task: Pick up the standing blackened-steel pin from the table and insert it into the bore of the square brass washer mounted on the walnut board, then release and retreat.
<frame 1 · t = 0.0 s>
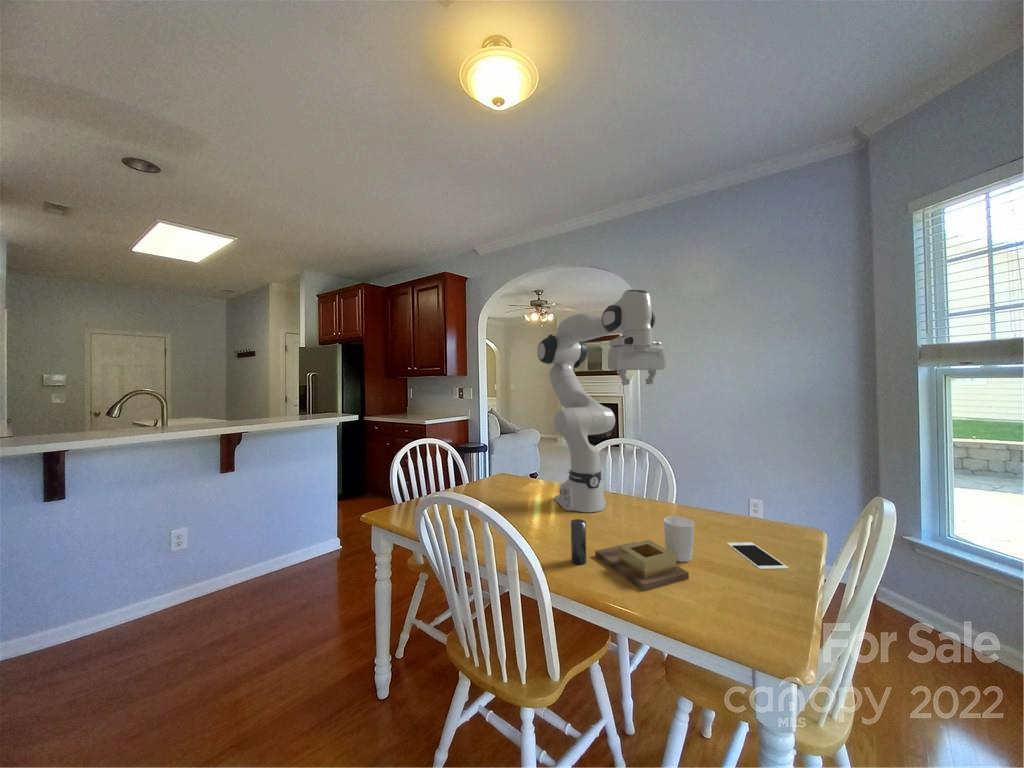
hand: (637, 384, 124), 48 cm above the table, fingers open, 8 cm apart
walnut board: (639, 566, 105), on the table
white cup: (679, 557, 110), on the table
steel pin: (578, 561, 108), on the table
square brass washer: (646, 565, 102), resting on walnut board
cell phone: (755, 557, 110), on the table
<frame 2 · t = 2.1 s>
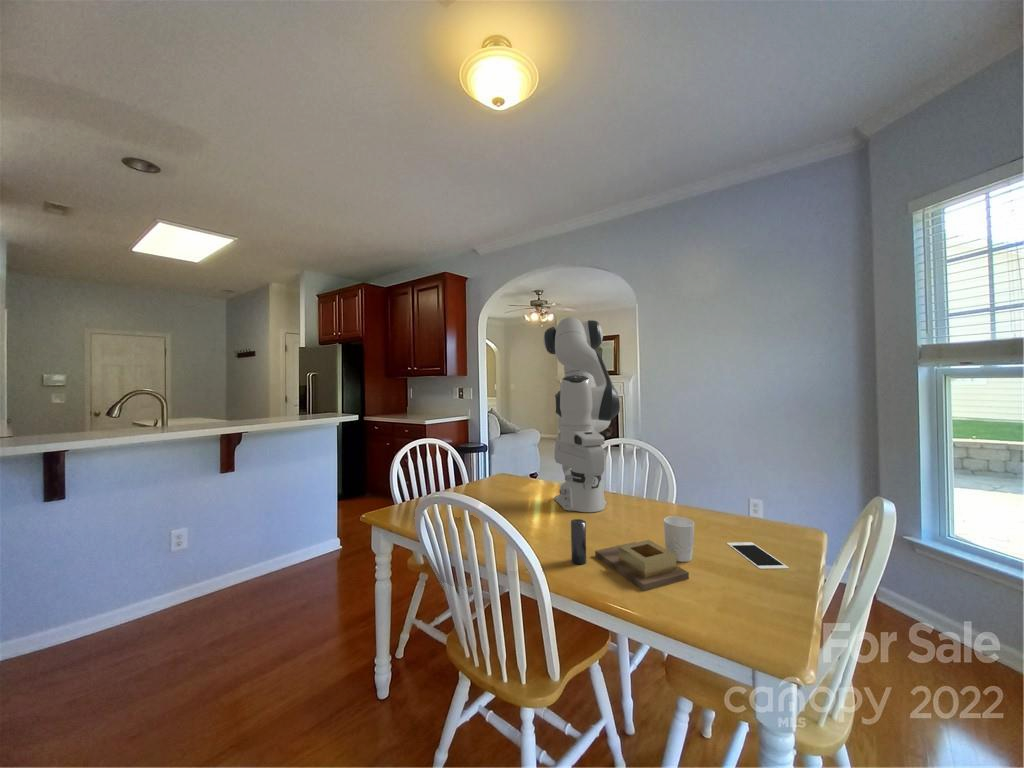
hand: (577, 485, 108), 21 cm above the table, fingers open, 8 cm apart
nothing on the table moved.
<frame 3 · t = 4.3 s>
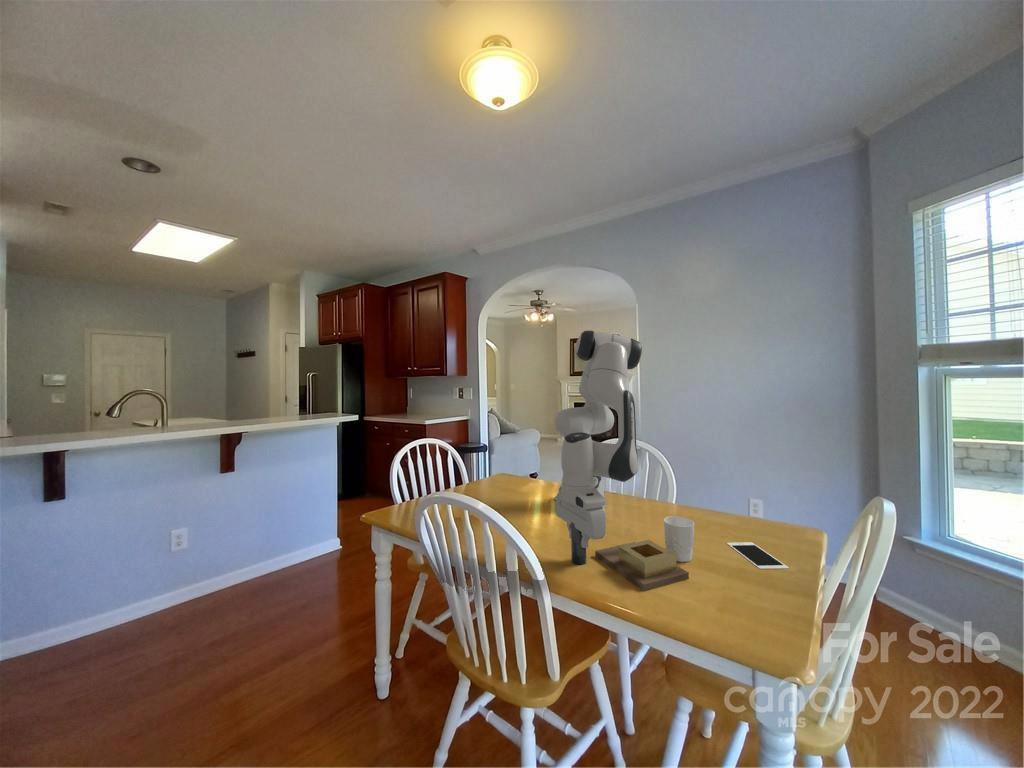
hand: (578, 543, 108), 5 cm above the table, fingers closed on steel pin, 4 cm apart
steel pin: (578, 561, 108), on the table, touching gripper
everything else where it was.
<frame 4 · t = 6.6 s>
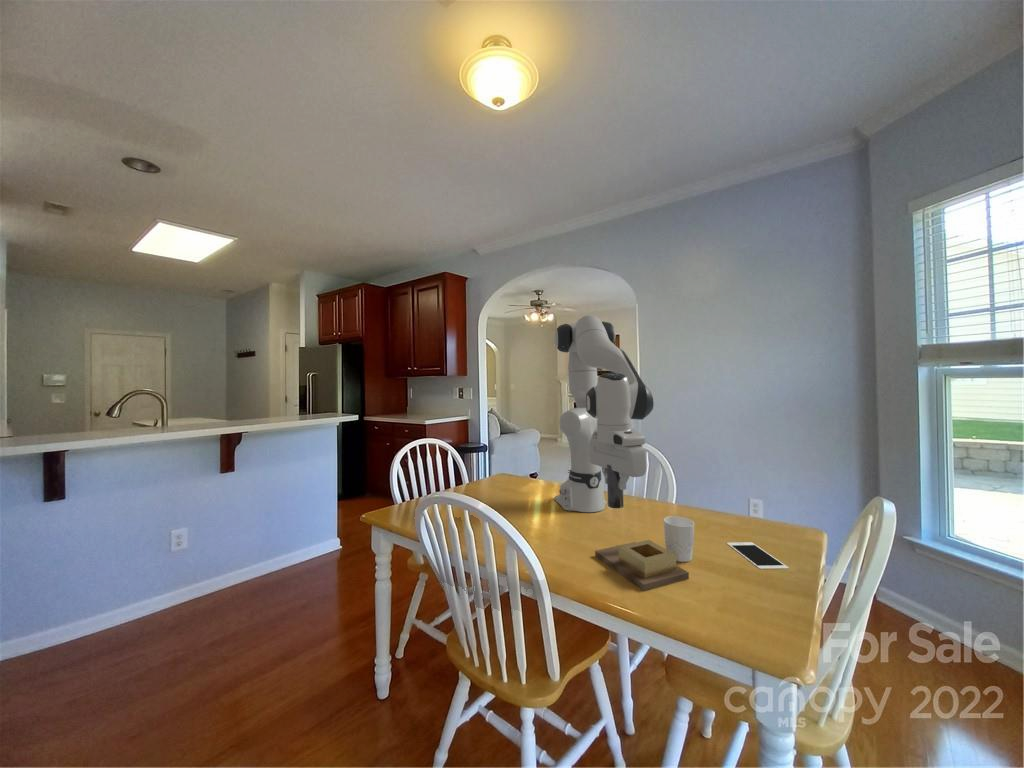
hand: (615, 486, 104), 22 cm above the table, fingers closed on steel pin, 4 cm apart
steel pin: (615, 505, 104), point 16 cm above the table, touching gripper
everything else where it was.
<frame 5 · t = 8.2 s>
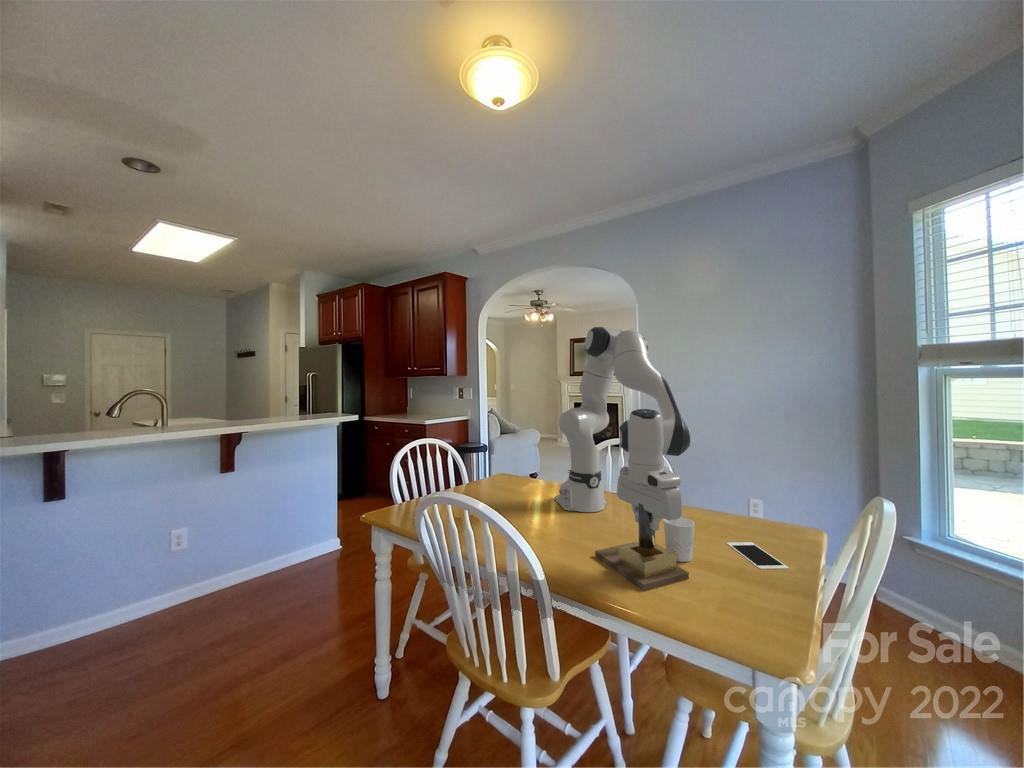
hand: (646, 526, 102), 12 cm above the table, fingers closed on steel pin, 4 cm apart
steel pin: (646, 545, 102), point 7 cm above the table, touching gripper
everything else where it was.
when the fingers open (8 cm above the table, at t = 9.4 s): steel pin stays where it is, resting on walnut board.
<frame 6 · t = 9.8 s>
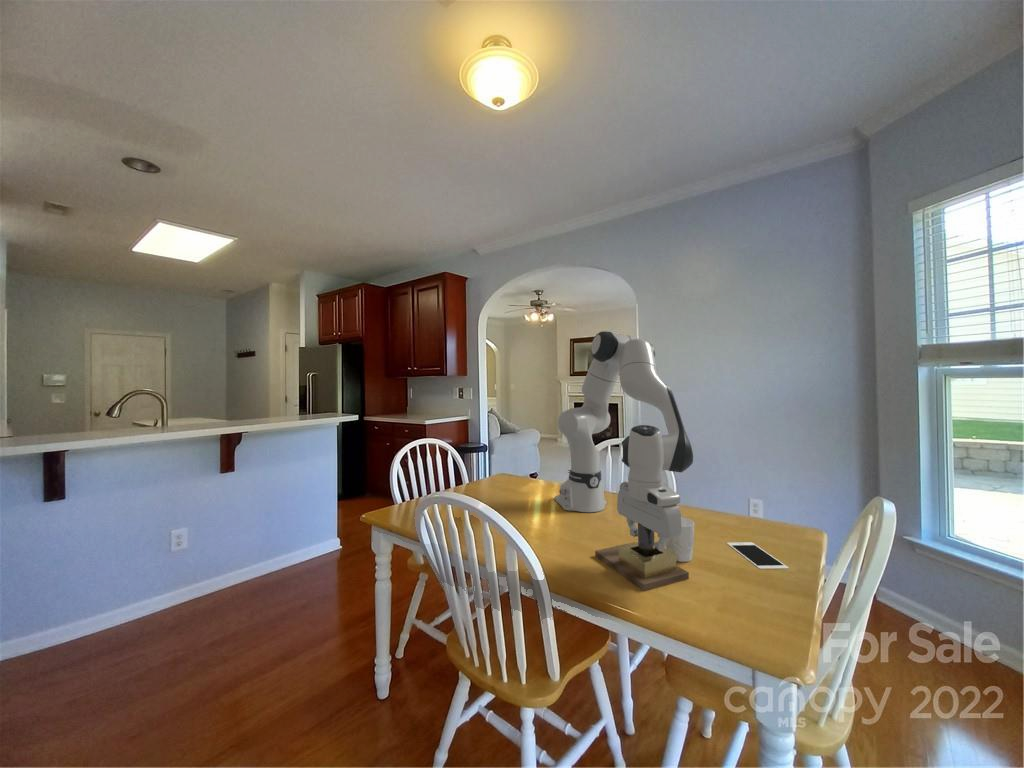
hand: (646, 542, 102), 8 cm above the table, fingers open, 8 cm apart
steel pin: (646, 565, 102), point 2 cm above the table, touching walnut board
everything else where it was.
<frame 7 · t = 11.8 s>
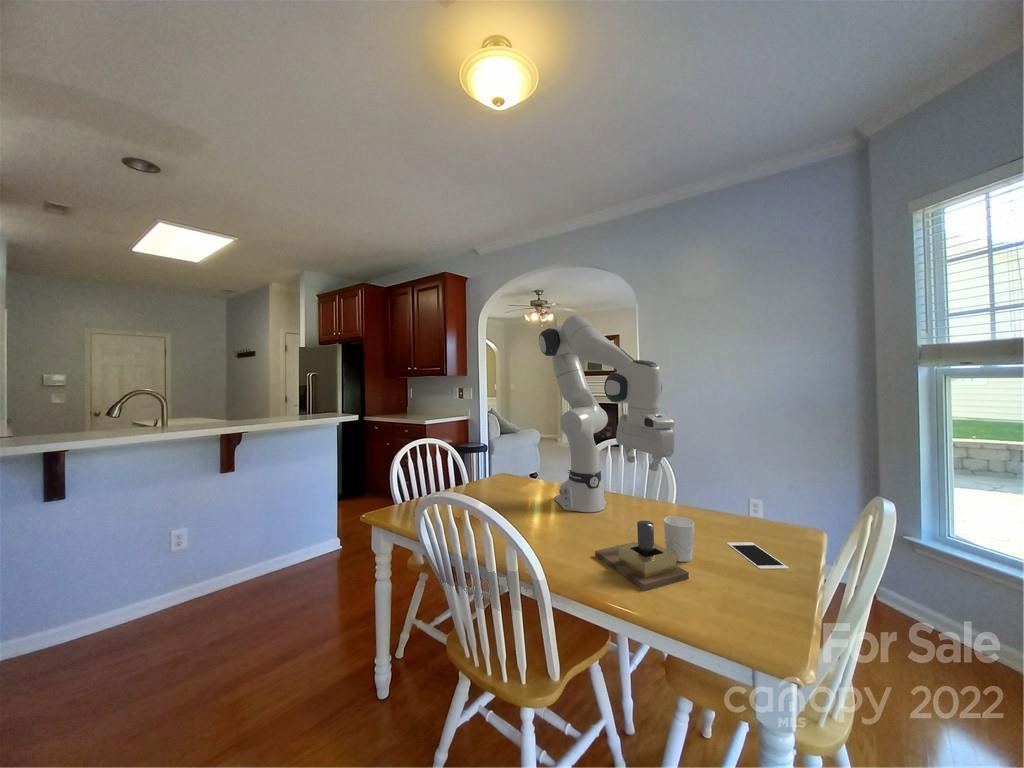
hand: (641, 466, 112), 25 cm above the table, fingers open, 8 cm apart
nothing on the table moved.
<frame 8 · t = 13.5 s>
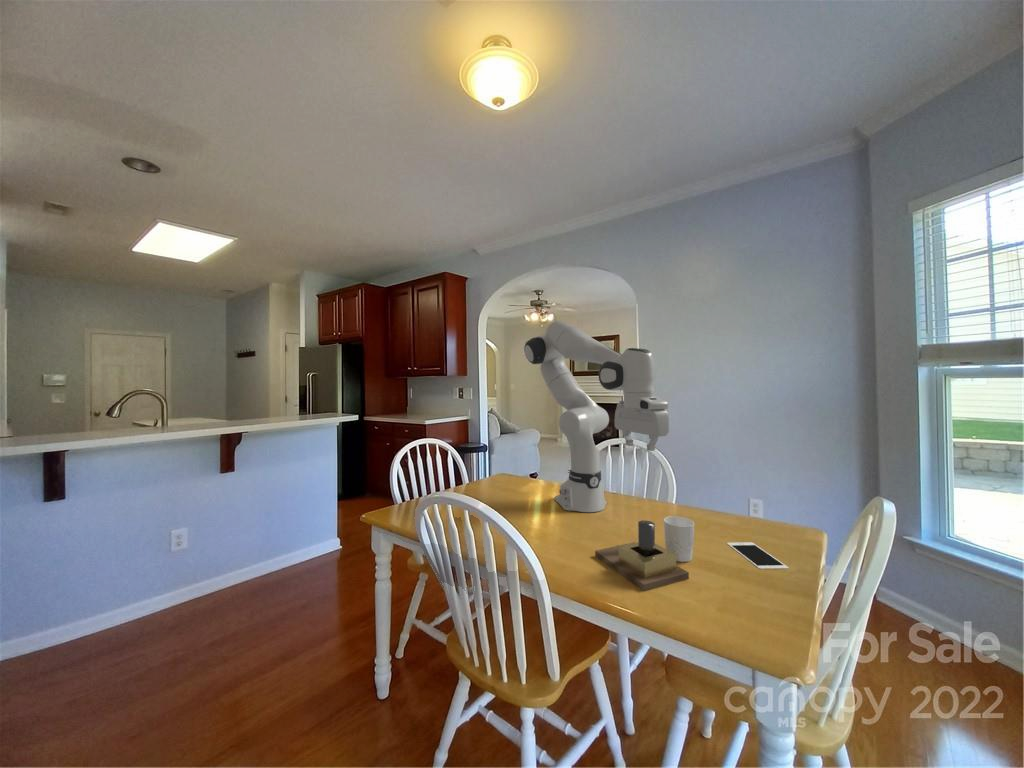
hand: (639, 447, 118), 29 cm above the table, fingers open, 8 cm apart
nothing on the table moved.
at the end: steel pin 0.1 cm off-centre on the square brass washer, point 0.0 cm above the square brass washer's base; steel pin tilted 1°; the gripper is holding nothing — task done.
